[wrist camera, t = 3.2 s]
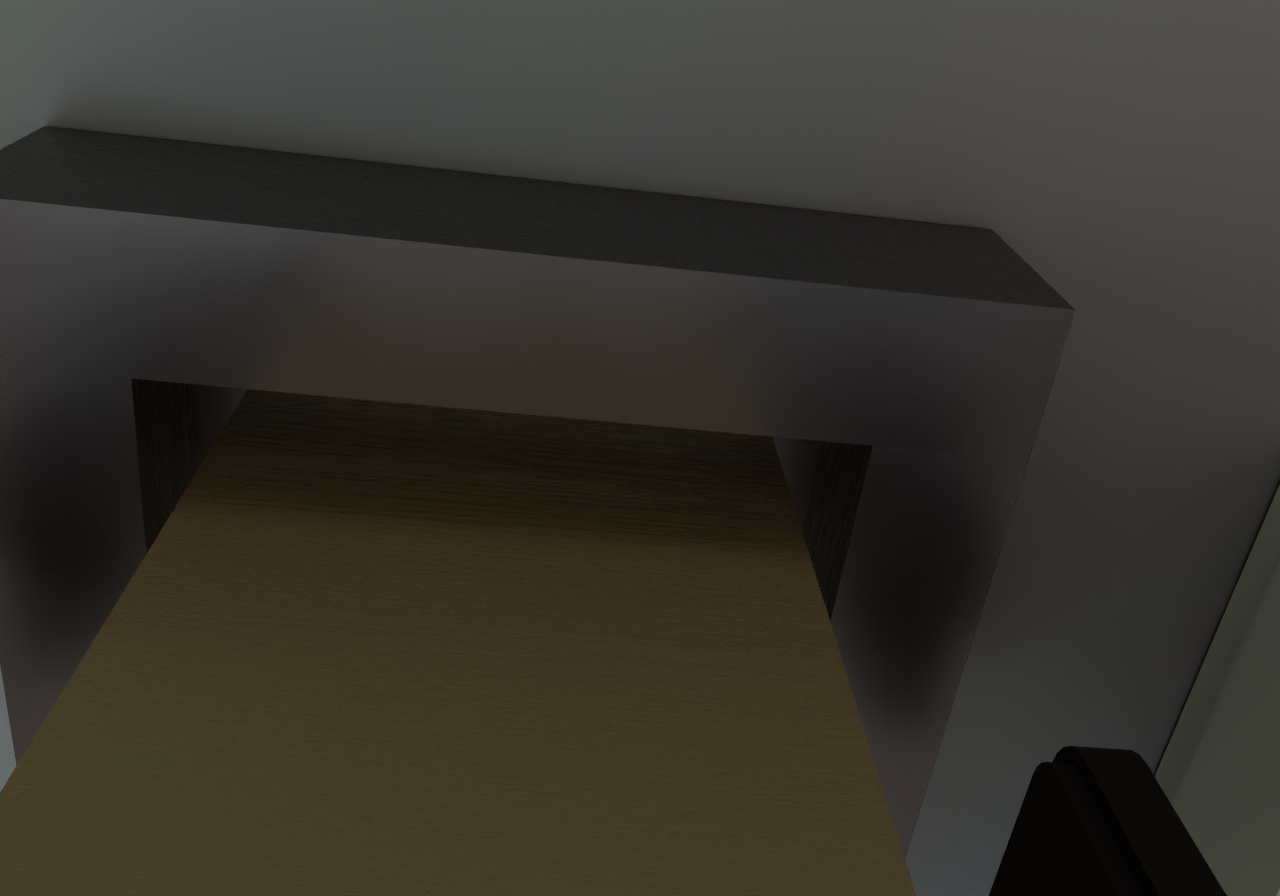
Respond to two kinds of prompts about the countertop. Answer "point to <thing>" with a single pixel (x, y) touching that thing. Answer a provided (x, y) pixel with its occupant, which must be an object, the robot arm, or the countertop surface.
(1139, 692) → the countertop surface
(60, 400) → the grey metal tray
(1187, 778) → the tray
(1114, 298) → the countertop surface
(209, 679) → the pale yellow tall block
